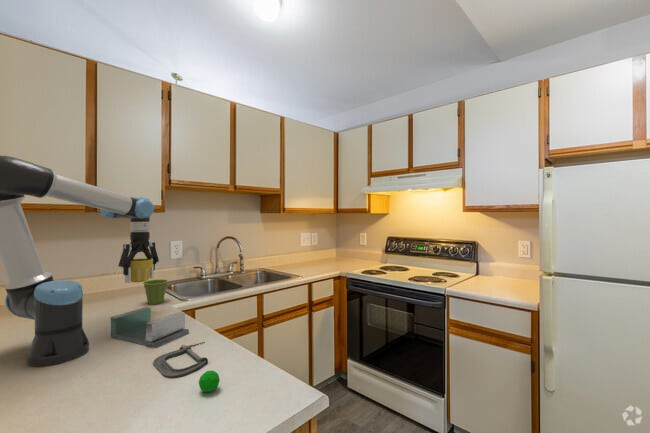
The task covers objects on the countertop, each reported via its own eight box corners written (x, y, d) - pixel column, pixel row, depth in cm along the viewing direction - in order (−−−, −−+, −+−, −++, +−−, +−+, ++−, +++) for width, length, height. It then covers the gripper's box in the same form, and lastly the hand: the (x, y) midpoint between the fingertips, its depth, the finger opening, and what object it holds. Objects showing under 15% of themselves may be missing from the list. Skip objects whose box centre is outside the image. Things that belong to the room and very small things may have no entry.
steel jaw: (152, 341, 104) (151, 324, 104) (145, 340, 105) (145, 323, 106) (184, 327, 117) (184, 312, 117) (179, 326, 118) (179, 311, 118)
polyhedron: (197, 389, 78) (196, 370, 78) (216, 383, 81) (216, 365, 81) (201, 398, 74) (201, 379, 74) (221, 392, 77) (221, 373, 77)
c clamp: (149, 358, 97) (149, 349, 97) (204, 344, 108) (204, 336, 108) (162, 385, 81) (162, 375, 81) (225, 365, 92) (225, 356, 92)
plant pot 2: (139, 306, 152) (139, 284, 152) (147, 300, 163) (147, 279, 163) (164, 305, 154) (164, 283, 154) (171, 299, 166) (171, 278, 166)
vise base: (156, 347, 104) (156, 325, 104) (110, 337, 113) (110, 317, 113) (188, 333, 116) (188, 313, 116) (145, 325, 126) (145, 307, 126)
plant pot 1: (140, 283, 131) (140, 261, 131) (120, 282, 133) (120, 260, 133) (157, 279, 141) (158, 258, 141) (139, 278, 143) (139, 257, 143)
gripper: (120, 232, 125) (119, 285, 125) (167, 230, 146) (167, 276, 146) (108, 232, 128) (108, 284, 128) (156, 230, 149) (156, 275, 149)
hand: (139, 280), depth 137 cm, fingers closed on plant pot 1, 10 cm apart
